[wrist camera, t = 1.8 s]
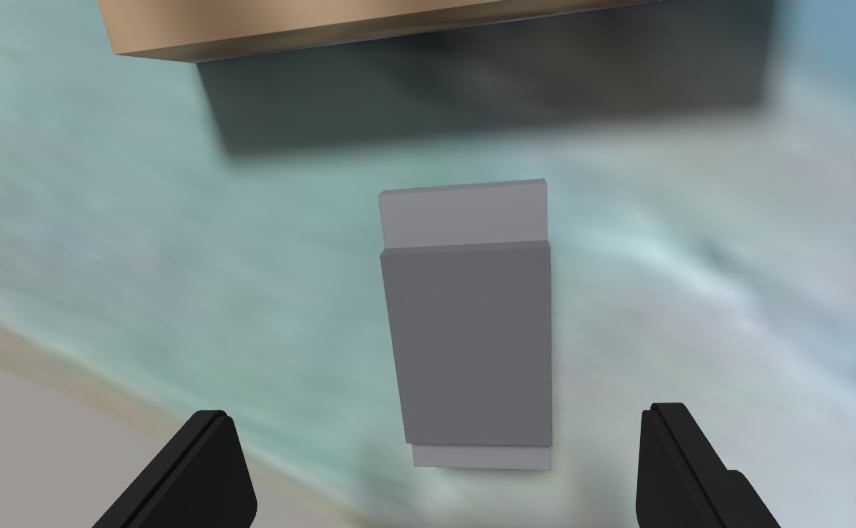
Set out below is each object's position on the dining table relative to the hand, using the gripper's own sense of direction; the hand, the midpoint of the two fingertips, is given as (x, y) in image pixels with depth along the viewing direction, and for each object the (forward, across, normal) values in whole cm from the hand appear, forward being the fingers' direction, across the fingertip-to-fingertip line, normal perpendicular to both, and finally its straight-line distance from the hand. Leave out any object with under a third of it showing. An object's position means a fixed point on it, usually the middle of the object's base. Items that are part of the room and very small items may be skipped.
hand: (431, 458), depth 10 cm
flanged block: (+10, -1, 0) cm, 10 cm away
